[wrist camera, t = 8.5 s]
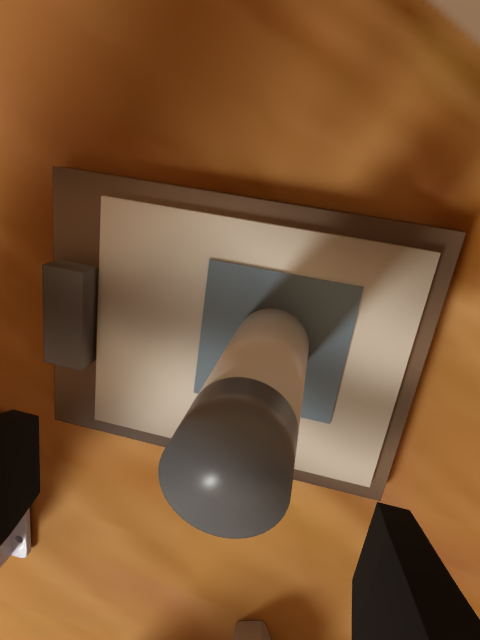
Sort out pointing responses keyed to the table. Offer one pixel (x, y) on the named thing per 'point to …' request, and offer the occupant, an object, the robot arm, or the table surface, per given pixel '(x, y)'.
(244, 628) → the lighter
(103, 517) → the table surface
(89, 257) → the picture frame
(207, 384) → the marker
